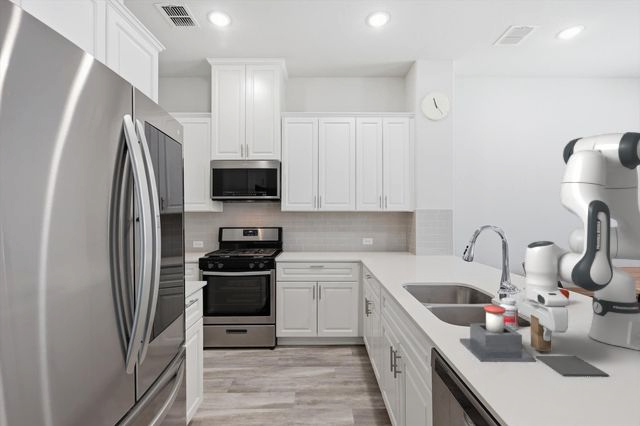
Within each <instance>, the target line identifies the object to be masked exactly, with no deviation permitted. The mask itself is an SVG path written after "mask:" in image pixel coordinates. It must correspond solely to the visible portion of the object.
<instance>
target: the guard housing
mask: <svg viewBox="0 0 640 426" xmlns="http://www.w3.org/2000/svg"><path fill="white" fill-rule="evenodd" d="M459 343H460V344H462V345H463V347H464V348H466V349H467V350H468V351H469V352H470V353H471V354H472V355H473V356H474V357H475V358H476V359H477V360H478V361H479V362H482V363H483V362H487V363H491V362H492V363H498V362H499V363H503V362H504V363H506V362H507V363H511V362H512V363H517V362H518V363H523V362H524V363H535V362H536V357H534V356H533V355H531V354H530V353H528V352H527V351H526V350H524V349H523V334H521V333H520V332H517V330H513V329H511V328H510V327H508V326H506V325H505V324H504V333H489V332H487V331H486V322H485V323H484V322H483V323H482V322H481V323H476V322H475V323H472V322H471V323H469V338H459Z"/></svg>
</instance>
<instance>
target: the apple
mask: <svg viewBox="0 0 640 426" xmlns="http://www.w3.org/2000/svg"><path fill="white" fill-rule="evenodd" d="M558 290H560V292H561V293H562V294H563V295H564V296H565V297H566V298H567V299H568V300H569V298H570V292H569V290H567V289H564V288H558Z"/></svg>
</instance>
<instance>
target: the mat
mask: <svg viewBox="0 0 640 426" xmlns="http://www.w3.org/2000/svg"><path fill="white" fill-rule="evenodd" d="M535 359H537V360H538V361H540V362H542V363H543V364H545V365H546V366H548V367H549V368H551V369H552V370H553V371H555V372H556V373H558V375H561V377H583V376H584V378H585V376H586V377H587V376H588V378H589V376H590V377H595V378H596V377H598V376H599V377H600V376H601V377H602V378H603V377H604V378H605V377H607V378H608V377H609V375H610V374H609V373H607V372H605V371H604V370H601V368H598V367H597V366H595V365H593V364H591V363H589V362H587V361H586V360H584V359H583V358H580V357H579V356H577V355H535Z"/></svg>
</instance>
